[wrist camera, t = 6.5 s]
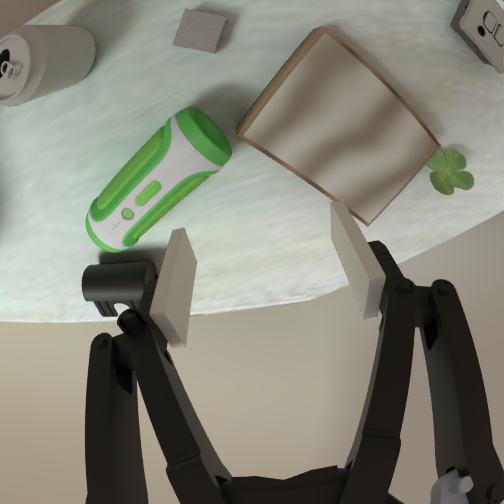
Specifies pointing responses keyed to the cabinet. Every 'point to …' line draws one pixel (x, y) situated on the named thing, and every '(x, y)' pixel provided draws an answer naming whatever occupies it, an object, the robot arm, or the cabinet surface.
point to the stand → (339, 127)
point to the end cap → (116, 284)
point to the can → (43, 61)
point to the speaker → (157, 179)
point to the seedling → (449, 172)
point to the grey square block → (200, 30)
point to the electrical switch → (482, 30)
